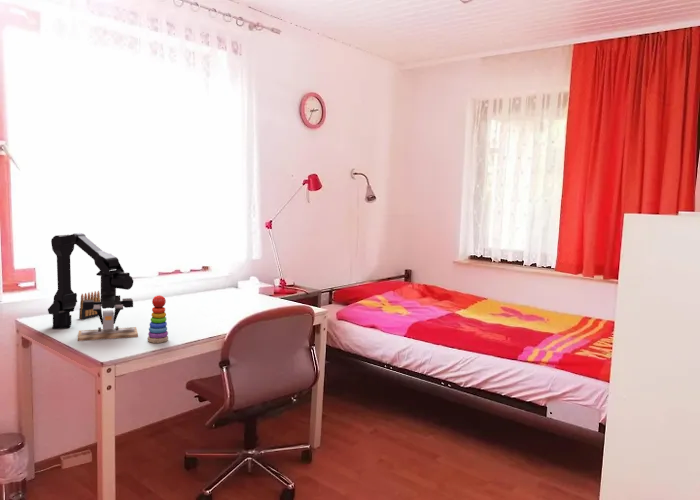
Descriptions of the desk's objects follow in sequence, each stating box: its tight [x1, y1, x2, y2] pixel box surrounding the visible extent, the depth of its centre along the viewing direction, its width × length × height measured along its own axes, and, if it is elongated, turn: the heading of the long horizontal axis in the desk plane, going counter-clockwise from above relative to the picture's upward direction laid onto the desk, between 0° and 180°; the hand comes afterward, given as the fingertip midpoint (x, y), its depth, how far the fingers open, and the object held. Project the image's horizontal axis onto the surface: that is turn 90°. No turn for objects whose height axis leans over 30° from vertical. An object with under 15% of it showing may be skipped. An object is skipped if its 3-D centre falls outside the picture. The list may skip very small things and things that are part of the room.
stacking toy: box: [146, 295, 169, 344], centre depth 209 cm, size 8×8×19 cm
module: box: [102, 309, 115, 329], centre depth 213 cm, size 4×7×6 cm, turn 26°
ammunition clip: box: [78, 290, 101, 321], centre depth 240 cm, size 11×2×12 cm, turn 157°
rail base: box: [77, 325, 139, 342], centre depth 214 cm, size 22×12×3 cm, turn 116°
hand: (108, 324), depth 214 cm, fingers closed on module, 4 cm apart
